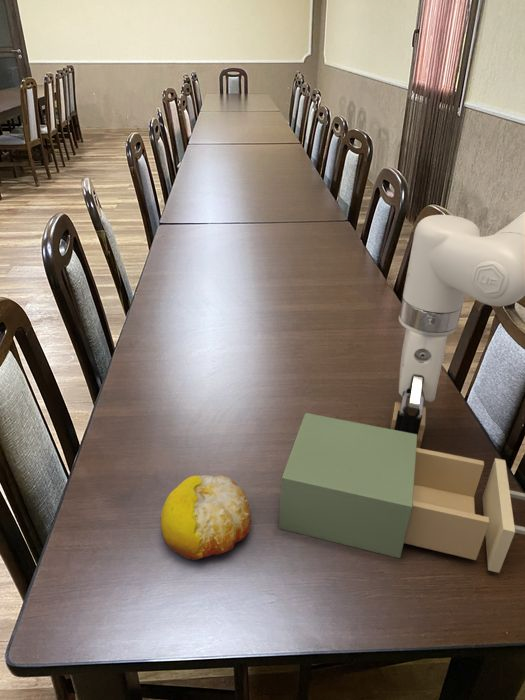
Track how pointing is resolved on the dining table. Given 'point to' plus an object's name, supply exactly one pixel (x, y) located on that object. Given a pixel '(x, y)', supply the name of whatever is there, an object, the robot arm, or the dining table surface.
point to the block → (422, 425)
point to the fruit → (205, 516)
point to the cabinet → (349, 484)
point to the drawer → (461, 507)
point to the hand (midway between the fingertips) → (407, 415)
